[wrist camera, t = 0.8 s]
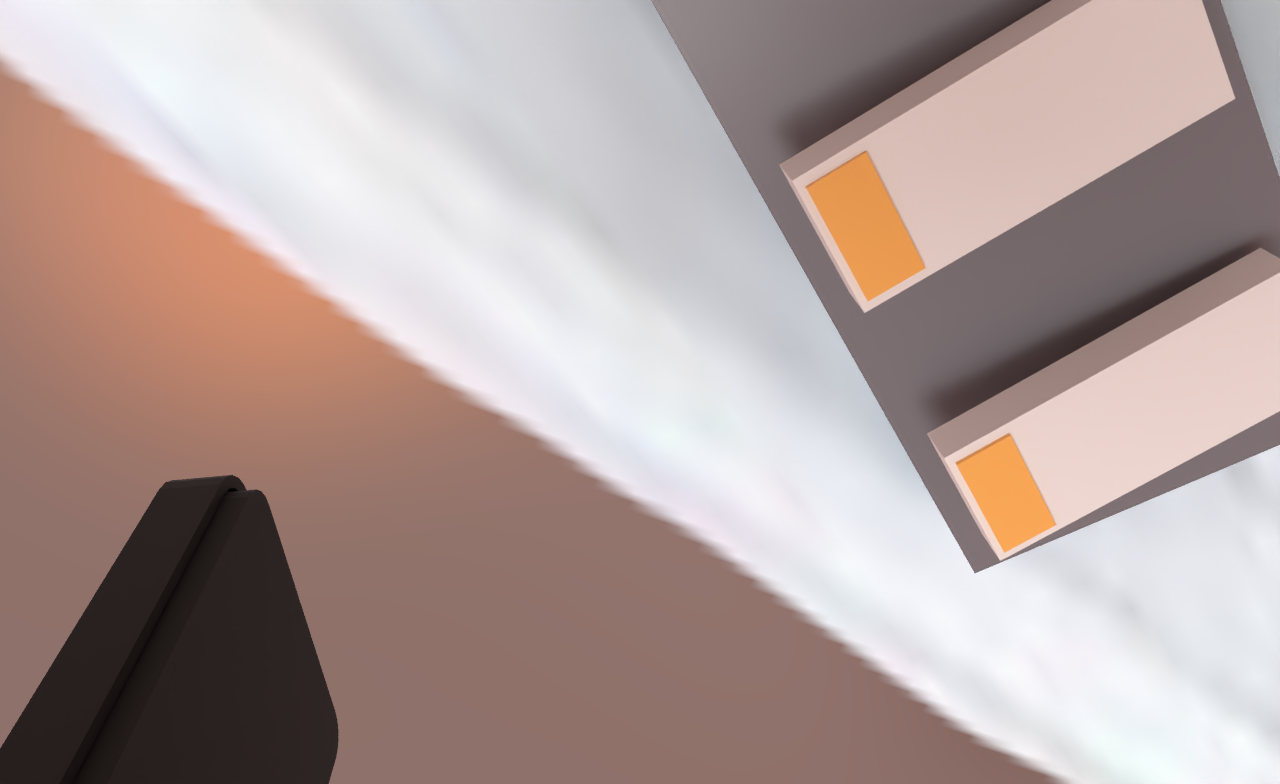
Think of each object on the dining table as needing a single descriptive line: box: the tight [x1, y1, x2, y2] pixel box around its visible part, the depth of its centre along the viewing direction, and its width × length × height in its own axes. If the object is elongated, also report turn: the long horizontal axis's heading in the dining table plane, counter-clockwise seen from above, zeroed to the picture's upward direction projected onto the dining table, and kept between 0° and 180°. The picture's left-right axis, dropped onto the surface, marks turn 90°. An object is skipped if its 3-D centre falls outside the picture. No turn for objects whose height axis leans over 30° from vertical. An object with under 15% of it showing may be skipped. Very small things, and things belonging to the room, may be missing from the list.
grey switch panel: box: [651, 0, 1280, 573], centre depth 31 cm, size 12×32×4 cm, turn 31°
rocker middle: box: [780, 0, 1235, 313], centre depth 29 cm, size 10×4×2 cm, turn 120°
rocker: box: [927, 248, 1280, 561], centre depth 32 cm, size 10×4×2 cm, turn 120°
